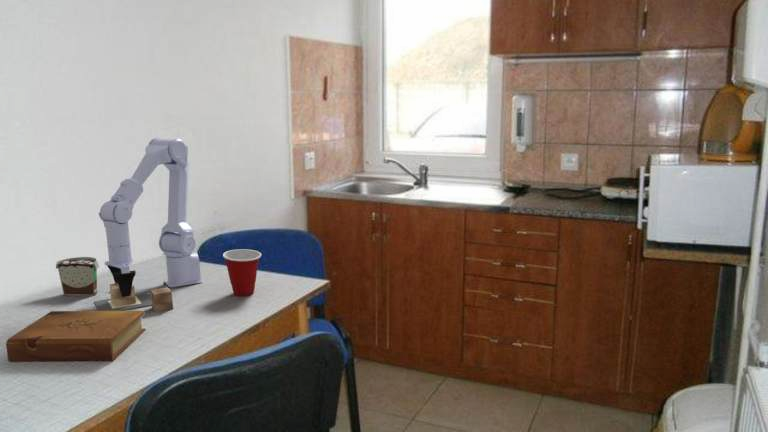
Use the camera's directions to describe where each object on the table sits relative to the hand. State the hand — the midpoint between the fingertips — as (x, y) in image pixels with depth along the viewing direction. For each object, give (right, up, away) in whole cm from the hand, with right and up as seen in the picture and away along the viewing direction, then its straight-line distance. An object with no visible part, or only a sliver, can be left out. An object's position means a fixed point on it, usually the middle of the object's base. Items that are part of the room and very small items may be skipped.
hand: (123, 292), depth 177 cm
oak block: (0, -3, 0) cm, 3 cm away
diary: (+2, -10, -28) cm, 30 cm away
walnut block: (+12, -4, -4) cm, 13 cm away
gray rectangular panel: (0, -3, +1) cm, 3 cm away
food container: (-16, -1, +12) cm, 20 cm away
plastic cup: (+32, -1, +8) cm, 33 cm away
